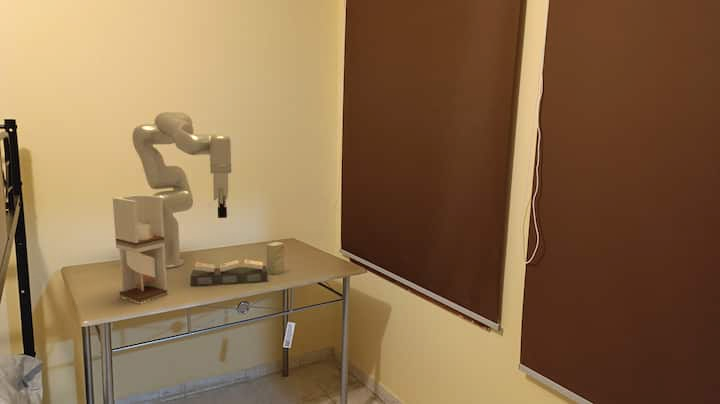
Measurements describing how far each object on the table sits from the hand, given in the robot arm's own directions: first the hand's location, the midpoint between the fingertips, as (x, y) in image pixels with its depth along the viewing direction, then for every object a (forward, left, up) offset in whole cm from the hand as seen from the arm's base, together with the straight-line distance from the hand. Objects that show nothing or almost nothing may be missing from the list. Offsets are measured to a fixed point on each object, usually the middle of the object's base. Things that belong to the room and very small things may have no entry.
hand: (222, 217), depth 180 cm
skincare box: (+20, +7, -25) cm, 33 cm away
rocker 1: (-7, 0, -19) cm, 20 cm away
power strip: (+2, 0, -25) cm, 25 cm away
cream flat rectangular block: (+2, 0, -19) cm, 19 cm away
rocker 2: (+11, 0, -19) cm, 22 cm away
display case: (-27, -11, -25) cm, 39 cm away
